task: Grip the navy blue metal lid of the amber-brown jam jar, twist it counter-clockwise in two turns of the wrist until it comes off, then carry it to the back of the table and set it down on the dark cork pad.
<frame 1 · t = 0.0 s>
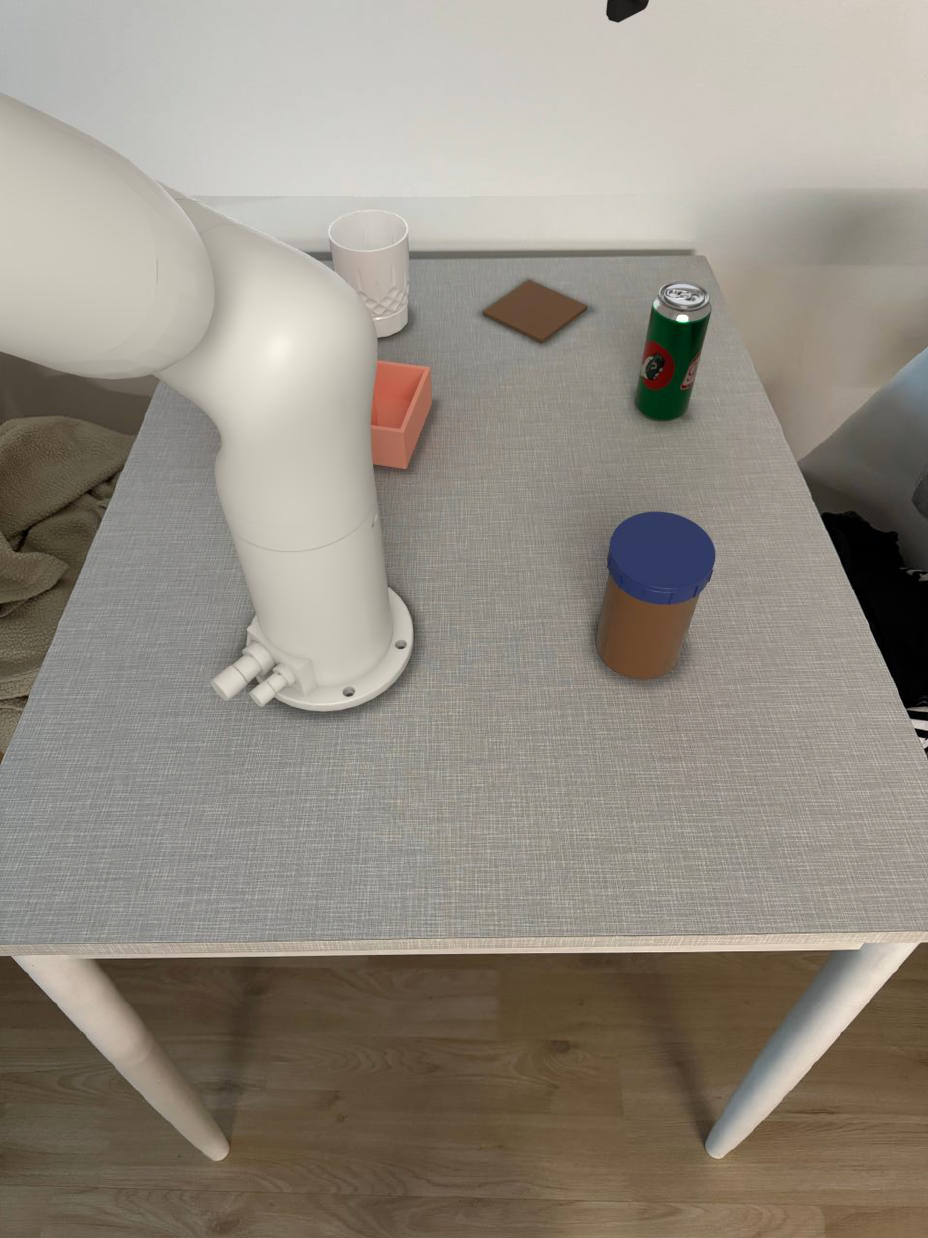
jar: (638, 644, 67), on the table
soda can: (660, 409, 84), on the table
white cup: (377, 321, 93), on the table
lid: (661, 552, 58), point 10 cm above the table, screwed on, not yet turned
pad: (535, 311, 94), on the table
salmon pink open box: (328, 423, 83), on the table
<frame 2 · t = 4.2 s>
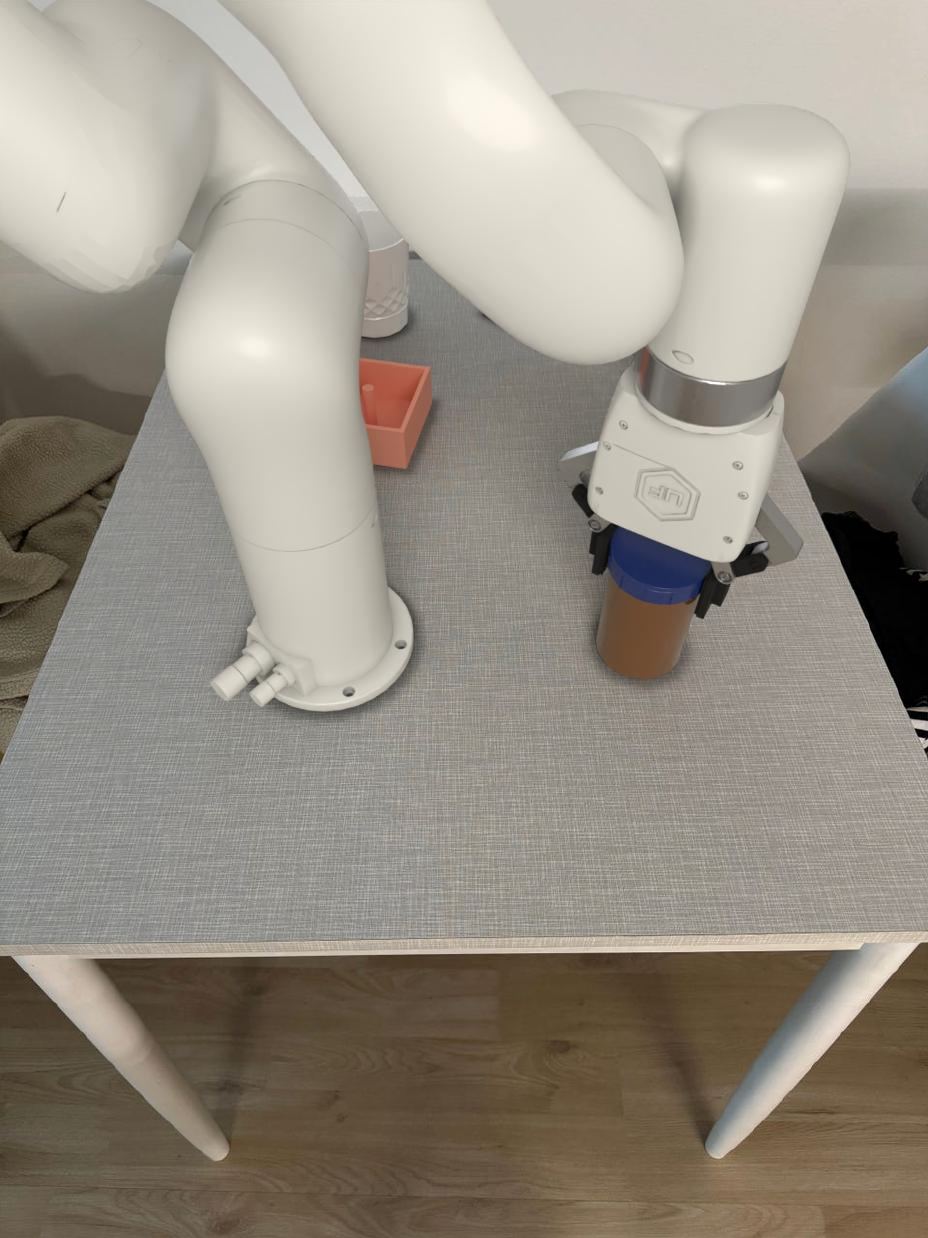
hand: (654, 581, 61), 8 cm above the table, tool pointing down, fingers closed on lid, 7 cm apart
lid: (661, 552, 58), point 10 cm above the table, screwed on, not yet turned, touching gripper
everything else where it was.
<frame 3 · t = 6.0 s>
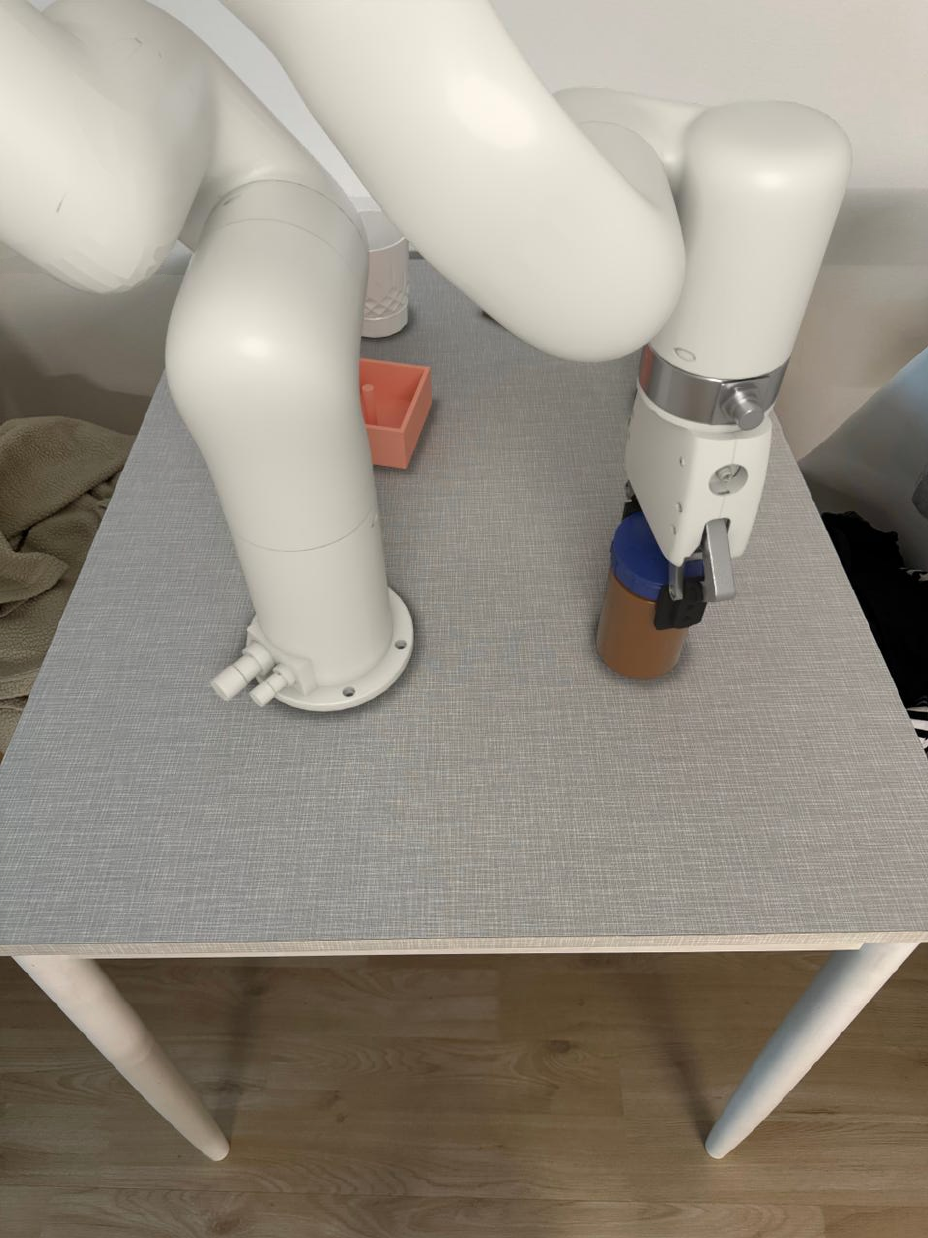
hand: (657, 579, 61), 8 cm above the table, tool pointing down, fingers closed on lid, 7 cm apart
lid: (664, 549, 58), point 11 cm above the table, off its thread, touching gripper
everything else where it was.
when the fingers open (7 cm above the table, at t = 6.7 s): lid stays where it is, resting on jar.
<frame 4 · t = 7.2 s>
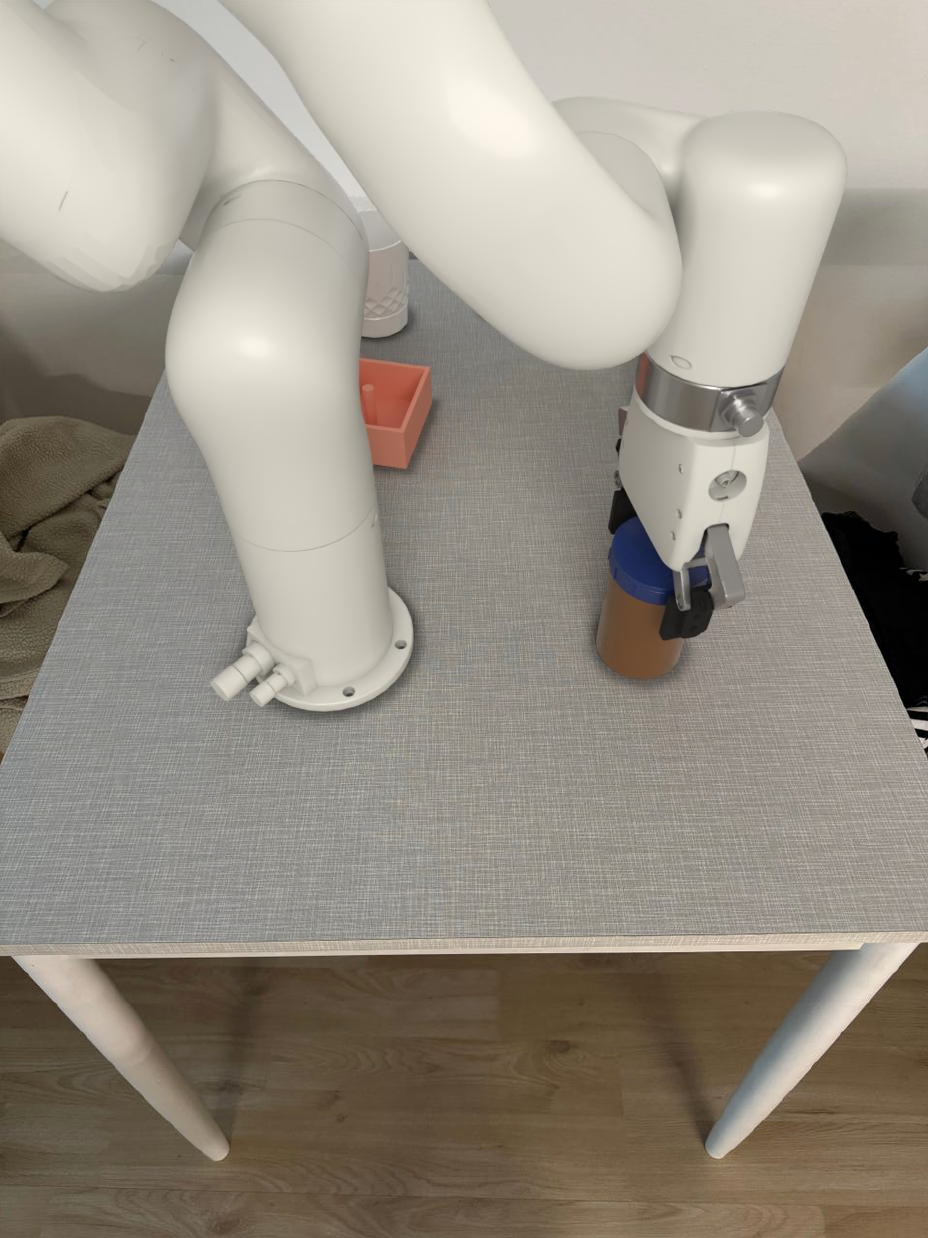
hand: (654, 578, 61), 8 cm above the table, tool pointing down, fingers open, 9 cm apart
jar: (637, 644, 67), on the table, touching lid
lid: (663, 553, 59), point 10 cm above the table, off its thread, touching jar
everything else where it was.
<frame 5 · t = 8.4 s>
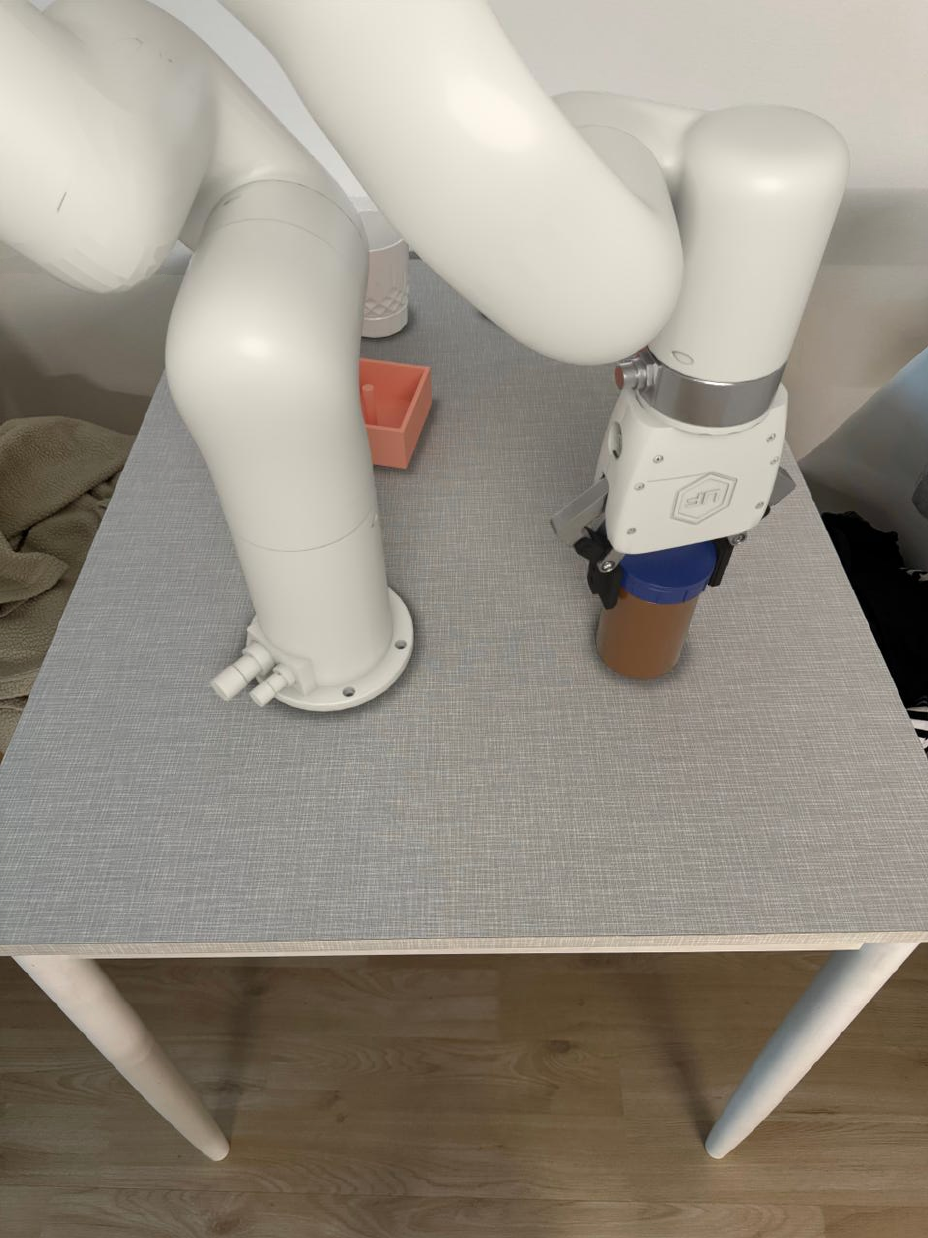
hand: (654, 581, 61), 7 cm above the table, tool pointing down, fingers closed on lid, 7 cm apart
lid: (662, 552, 58), point 11 cm above the table, off its thread, touching gripper, jar
everything else where it was.
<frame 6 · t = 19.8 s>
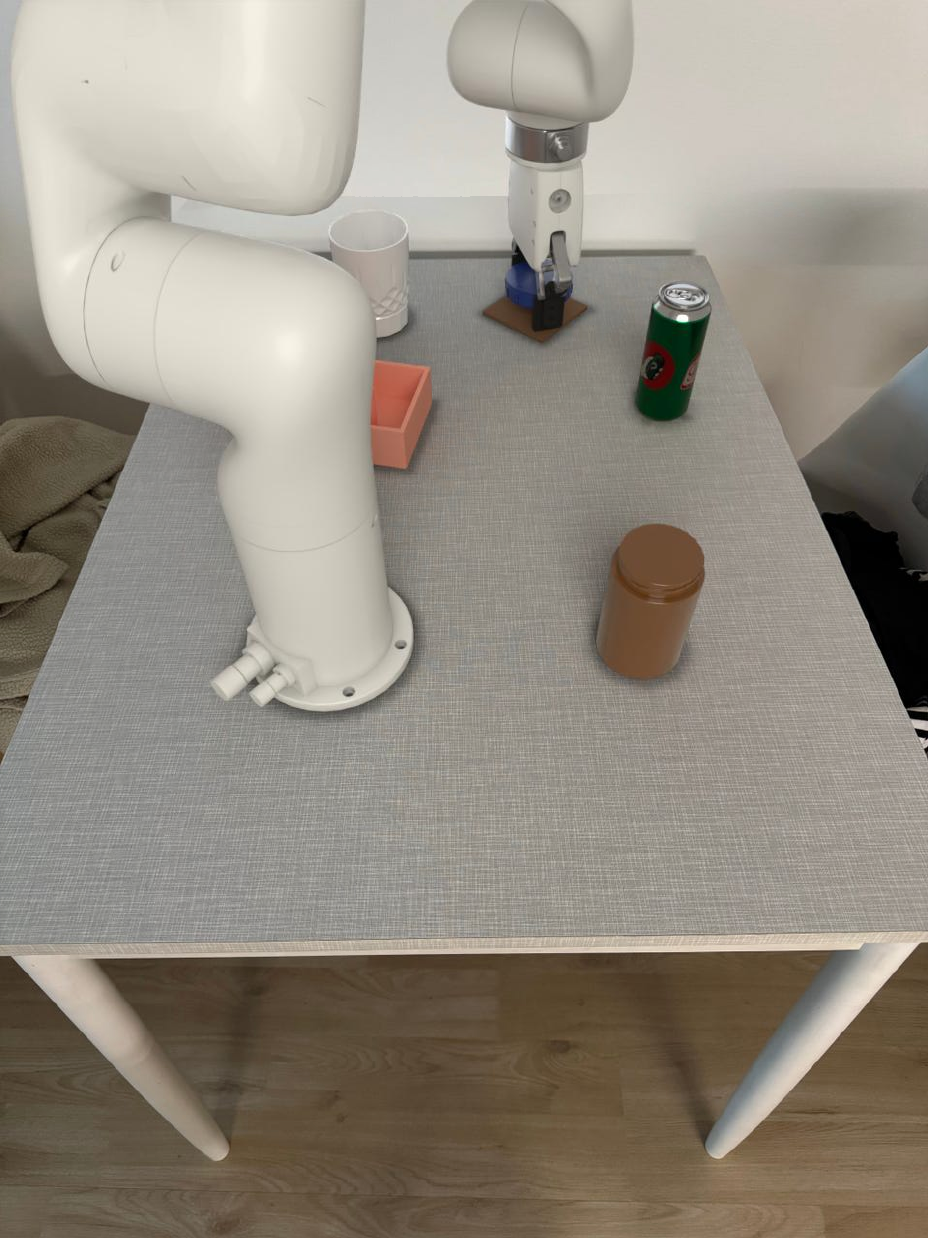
hand: (535, 306, 94), 1 cm above the table, tool pointing down, fingers closed on lid, 7 cm apart
jar: (637, 644, 67), on the table
lid: (539, 279, 91), point 4 cm above the table, off its thread, touching gripper
everything else where it was.
when the fingers open (1 cm above the table, at t = 27.8 s): lid drops 3 cm, resting on pad.
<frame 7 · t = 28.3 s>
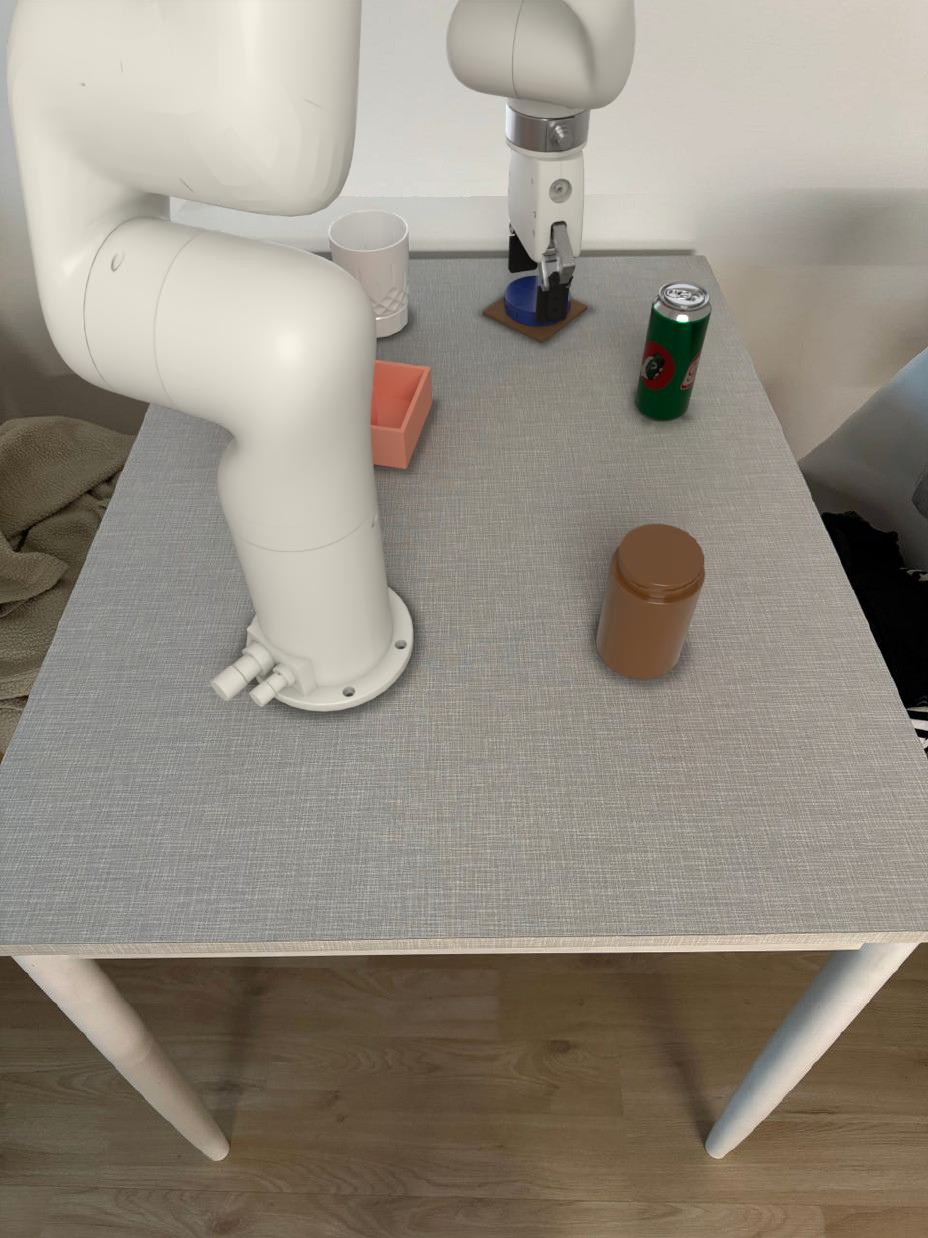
hand: (536, 294, 92), 2 cm above the table, tool pointing down, fingers open, 9 cm apart
lid: (537, 296, 93), point 2 cm above the table, off its thread, touching pad
everything else where it was.
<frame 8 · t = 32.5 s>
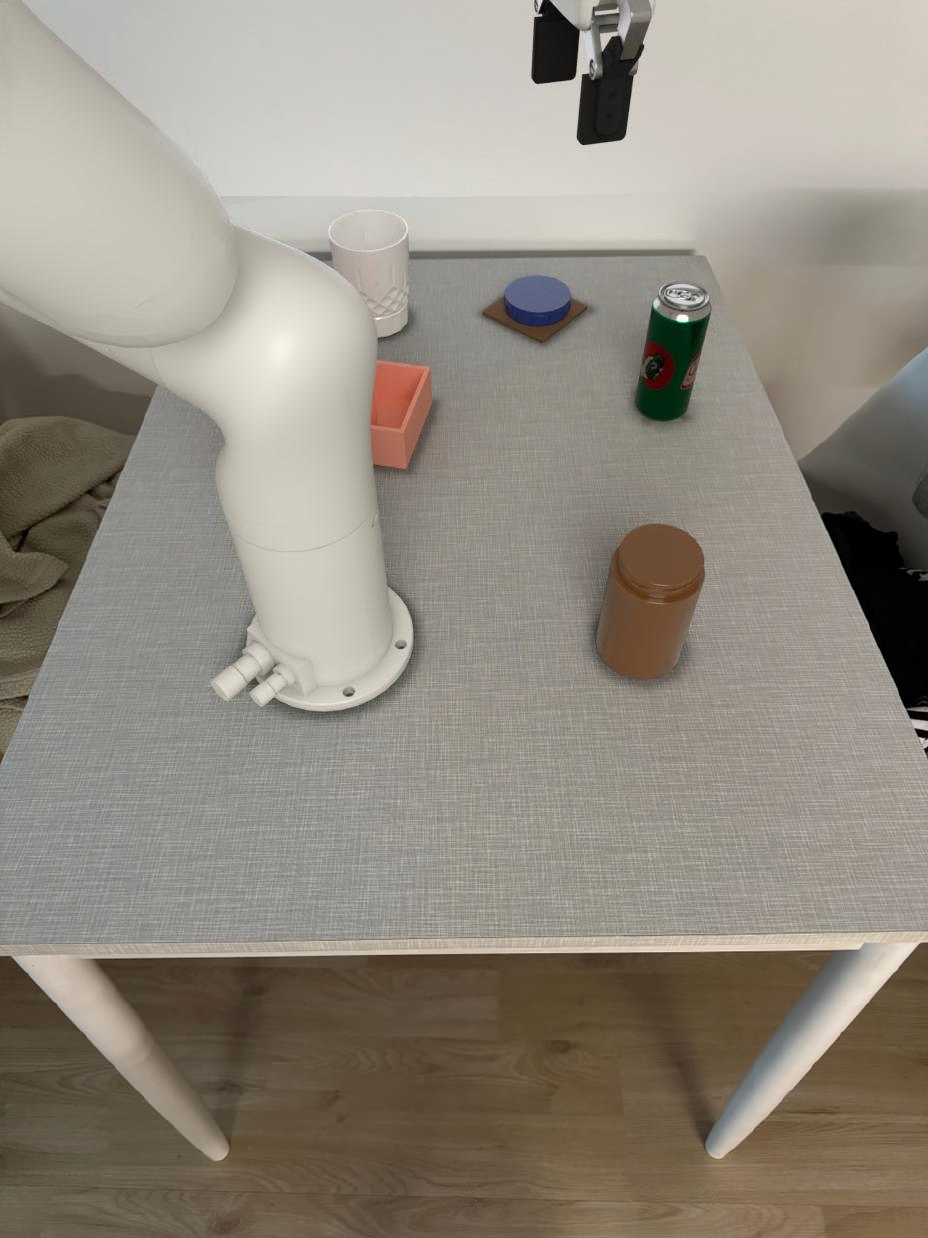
hand: (575, 109, 59), 28 cm above the table, tool pointing down, fingers open, 9 cm apart
nothing on the table moved.
at the end: the gripper is holding nothing; lid point 1.7 cm above the table; lid inside the target area on the pad (0.2 cm from its centre), point 1.7 cm above the pad's base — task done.
